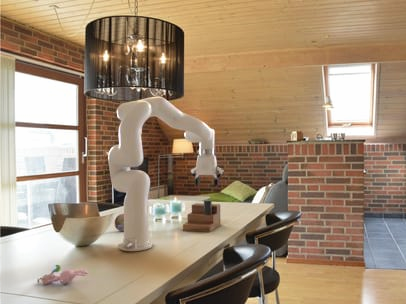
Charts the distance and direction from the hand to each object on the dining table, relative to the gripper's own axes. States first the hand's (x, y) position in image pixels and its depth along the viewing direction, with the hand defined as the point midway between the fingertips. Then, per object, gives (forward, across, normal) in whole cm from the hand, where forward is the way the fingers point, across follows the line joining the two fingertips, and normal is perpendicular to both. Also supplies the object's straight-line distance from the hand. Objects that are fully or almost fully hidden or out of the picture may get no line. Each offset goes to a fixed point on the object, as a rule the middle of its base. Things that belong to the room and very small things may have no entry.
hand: (206, 186), depth 176 cm
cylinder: (+14, 0, +1) cm, 14 cm away
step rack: (+21, -3, +1) cm, 21 cm away
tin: (+22, -38, -11) cm, 45 cm away
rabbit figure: (+23, -16, -78) cm, 83 cm away
